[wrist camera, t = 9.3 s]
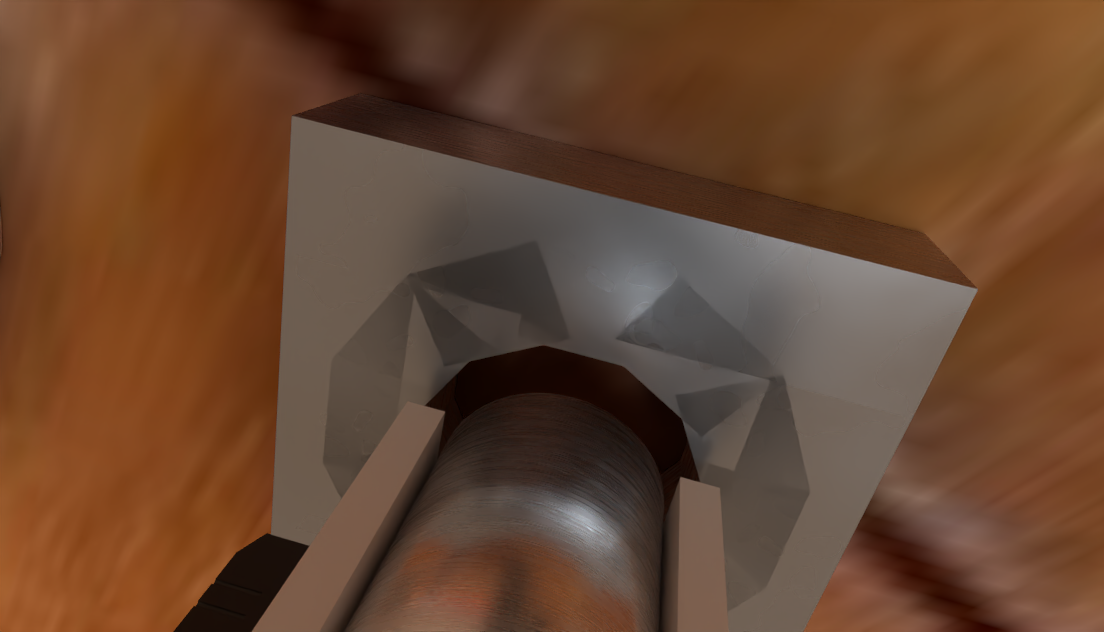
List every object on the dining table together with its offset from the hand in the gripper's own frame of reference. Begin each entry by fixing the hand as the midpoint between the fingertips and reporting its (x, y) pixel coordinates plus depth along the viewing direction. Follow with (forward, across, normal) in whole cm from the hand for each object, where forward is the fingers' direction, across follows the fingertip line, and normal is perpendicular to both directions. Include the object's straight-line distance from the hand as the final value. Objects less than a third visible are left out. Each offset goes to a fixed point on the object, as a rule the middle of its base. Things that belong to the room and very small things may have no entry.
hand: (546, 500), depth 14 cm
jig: (+4, 0, 0) cm, 4 cm away
